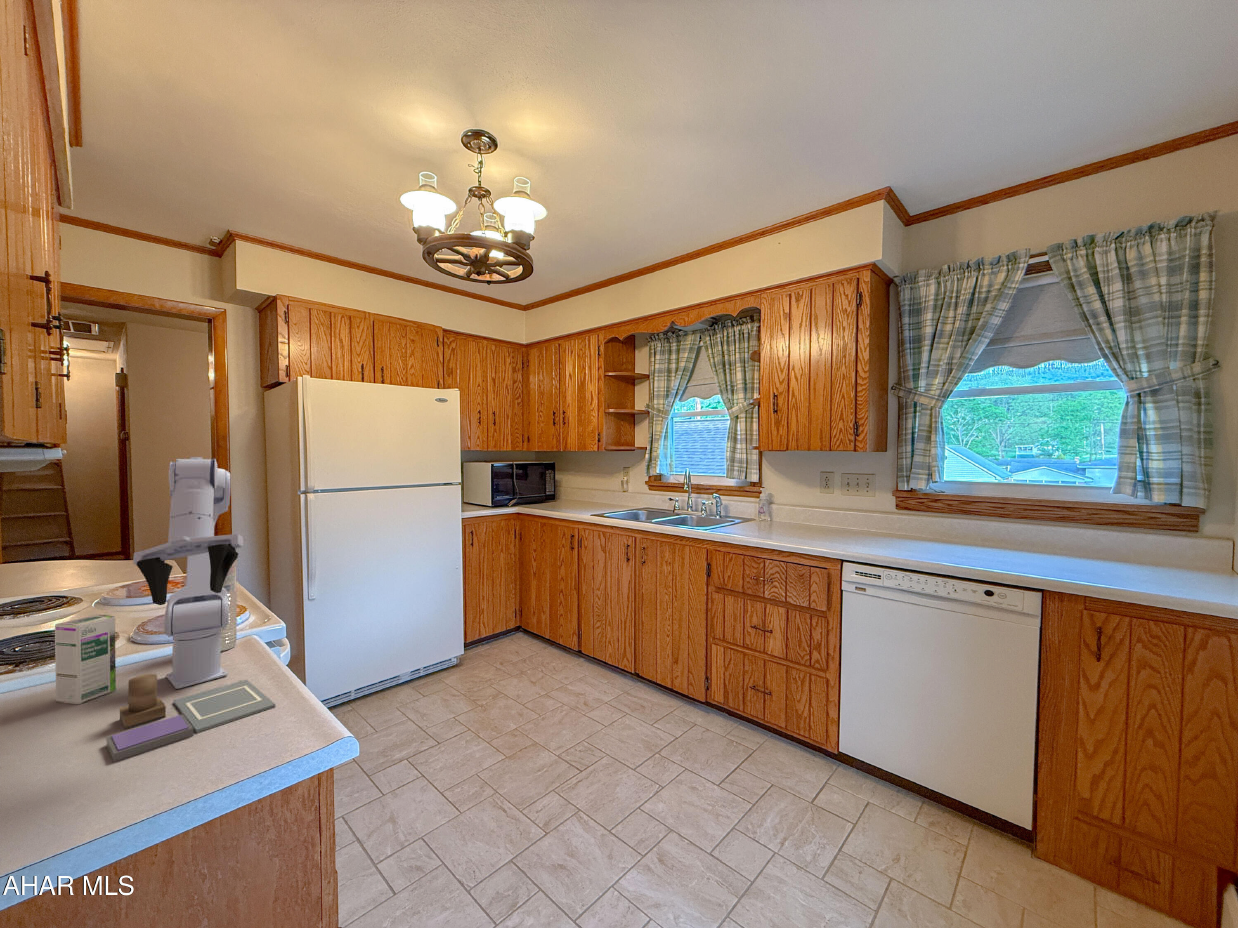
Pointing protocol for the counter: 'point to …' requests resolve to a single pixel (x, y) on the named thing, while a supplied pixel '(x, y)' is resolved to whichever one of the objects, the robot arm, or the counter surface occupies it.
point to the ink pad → (148, 737)
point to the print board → (222, 705)
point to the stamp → (142, 702)
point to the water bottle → (230, 610)
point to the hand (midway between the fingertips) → (187, 597)
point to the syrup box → (85, 658)
